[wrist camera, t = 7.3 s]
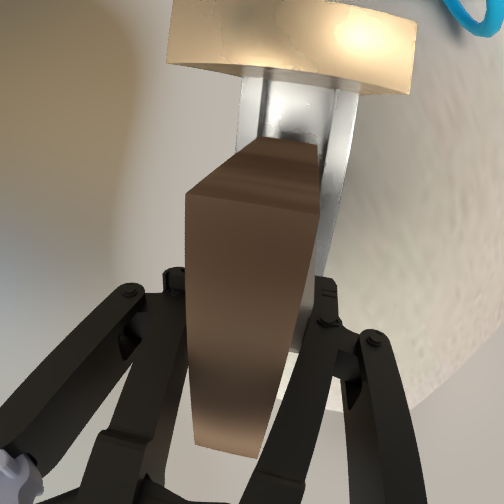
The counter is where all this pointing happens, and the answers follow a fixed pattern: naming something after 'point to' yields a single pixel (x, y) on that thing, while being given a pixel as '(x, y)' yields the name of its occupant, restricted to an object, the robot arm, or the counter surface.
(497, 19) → the mug
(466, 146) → the counter surface
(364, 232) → the counter surface
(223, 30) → the door track
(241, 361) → the door panel
